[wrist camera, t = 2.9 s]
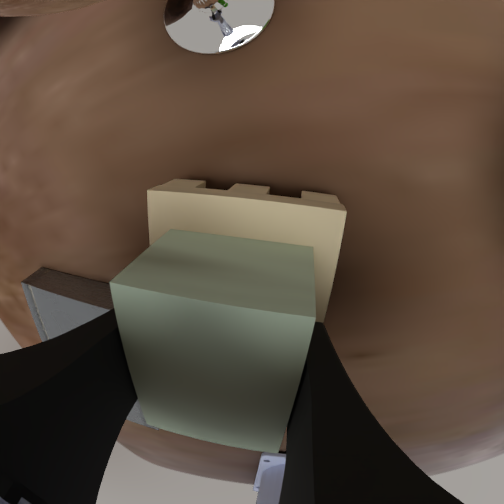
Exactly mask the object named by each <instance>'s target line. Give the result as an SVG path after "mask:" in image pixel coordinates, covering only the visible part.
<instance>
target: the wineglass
mask: <svg viewBox="0 0 504 504" xmlns="http://www.w3.org/2000/svg"><path fill="white" fill-rule="evenodd" d="M102 1H105V0H0V17H17V16H42V15H50V14H58V13H63V12H67V11H72V10H77V9H80V8H84V7H88V6H90V5H93V4H96V3H99V2H102ZM274 7H275V0H167V2H166V4H165V8H164V16H163V18H164V25H165V29H166V31H167V33H168V35H169V36H170V38H171V39H172V40H173V41H174V42H175V43H176V44H177V45H178V46H180V47H182V48H184V49H186V50H188V51H190V52H195V53H199V54H220V53H225V52H230V51H233V50H235V49H238V48H240V47H243V46H244V45H246V44H248V43H249V42H251V41H253V40H254V39H255V38H256V37H257V36H258V35H260V34H261V33H262V32H263V31H264V29H265V28H266V27H267V25H268V24H269V22H270V20H271V18H272V15H273V13H274Z"/></svg>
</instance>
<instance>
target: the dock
mask: <svg viewBox="0 0 504 504" xmlns="http://www.w3.org/2000/svg"><path fill="white" fill-rule="evenodd" d="M21 283H22V287H23V290H24V293H25V296H26V299H27V302H28V305H29V308H30V311H31V314H32V317H33V319H34V322H35V325H36V327H37V330H38V332H39V335H40V337H41V340H42V342H44V341H47V340H49V339H52V338H54V337H57V336H59V335H61V334H64V333H66V332H68V331H70V330H72V329H74V328H76V327H78V326H81V325H83V324H85V323H87V322H89V321H91V320H93V319H95V318H97V317H98V316H100V315H102V314H104V313H106V312H108V311H110V310H112V309H113V308H114V304H113V299H112V294H111V288H110V284H107V283H103V282H99V281H94V280H90V279H86V278H82V277H78V276H74V275H70V274H66V273H62V272H58V271H54V270H50V269H47V268H43V267H41V268H40V269H39V270H37V271H36V272H34V273H33V274H32V275H30V276H29V277H27V278H26V279H25V280H23V281H22V282H21ZM126 419H127V420H130V421H132V422H135V423H138V424H141V425H144V426H147V427H150V428H153V429H156V430H159V428H157V427H154V426H151V425H148V424H147V423H146V421H145V418H144V415H143V412H142V409H141V406H140V403H139V400H138V399H137V401H136V403H135V404H134V406H133V408H132V409H131V411H130V413H129V415H128V416H127V418H126Z"/></svg>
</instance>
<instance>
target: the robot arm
mask: <svg viewBox="0 0 504 504" xmlns="http://www.w3.org/2000/svg"><path fill="white" fill-rule="evenodd" d="M137 399H138V397H137V394H136V391H135V387H134V384H133V381H132V378H131V374H130V371H129V367H128V363H127V360H126V356H125V352H124V348H123V344H122V340H121V336H120V332H119V328H118V323H117V319H116V314H115V309H114V308H113V309H112V310H110V311H108V312H106V313H104V314H102V315H100V316H98V317H97V318H95V319H93V320H91V321H89V322H87V323H85V324H83V325H81V326H78V327H76V328H74V329H72V330H70V331H68V332H66V333H64V334H61V335H59V336H57V337H54V338H52V339H49V340H47V341H44V342H41V343H38V344H36V345H33V346H29V347H26V348H22V349H19V350H15V351H12V352H8V353H4V354H0V504H96V500H97V496H98V492H99V488H100V485H101V482H102V478H103V475H104V471H105V469H106V466H107V463H108V460H109V458H110V455H111V452H112V450H113V447H114V444H115V442H116V440H117V437H118V435H119V433H120V430H121V428H122V426H123V424H124V422H125V420H126V418H127V416H128V415H129V413H130V411H131V409H132V408H133V406H134V404H135V403H136V401H137ZM253 490H254V491H257V492H258V496H257V501H256V504H464V503H462V502H461V501H460V500H458V499H457V498H455V497H454V496H453V495H451V494H450V493H449V492H447V491H446V490H445V489H443V488H442V487H441V486H439V485H438V484H437V483H435V482H434V481H433V480H432V479H431V478H430V477H428V476H427V475H426V474H425V473H424V472H423V471H422V470H421V469H420V468H419V467H417V466H416V465H415V464H414V463H413V462H412V461H411V459H410V458H409V457H408V456H407V455H406V454H405V453H404V452H403V451H402V450H401V449H400V448H399V447H398V446H397V445H396V443H395V442H394V441H393V440H392V439H391V438H390V437H389V435H388V434H387V433H386V432H385V430H384V429H383V428H382V427H381V425H380V424H379V423H378V421H377V420H376V419H375V417H374V416H373V414H372V413H371V412H370V410H369V409H368V407H367V406H366V404H365V403H364V401H363V400H362V398H361V397H360V395H359V393H358V392H357V390H356V388H355V387H354V385H353V383H352V382H351V380H350V378H349V376H348V375H347V373H346V371H345V369H344V367H343V365H342V363H341V361H340V359H339V357H338V355H337V353H336V351H335V349H334V347H333V345H332V343H331V340H330V338H329V336H328V333H327V331H326V328H325V326H324V324H323V323H322V322H315V324H314V328H313V332H312V336H311V341H310V345H309V349H308V353H307V356H306V360H305V364H304V368H303V372H302V375H301V379H300V383H299V386H298V390H297V393H296V397H295V400H294V404H293V407H292V410H291V414H290V417H289V420H288V424H287V446H286V454H281V453H278V454H277V453H269V452H263V453H262V454H261V459H260V463H259V467H258V471H257V475H256V479H255V483H254V487H253Z"/></svg>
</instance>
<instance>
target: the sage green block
mask: <svg viewBox="0 0 504 504" xmlns="http://www.w3.org/2000/svg"><path fill="white" fill-rule="evenodd" d="M269 193H270V187H267V186H258V185H248V184H238V183H236V184H234V185H233V186H232V187H231V188H230V189H229V190H219V189H207V188H206V181H201V180H187V179H174V180H171V181H169V182H167V183H165V184H163V185H157V186H155V187H153V188H151V189H149V190H147V200H148V224H149V241H150V247H149V248H147V249H146V250H145V251H144V252H143V253H142V254H140V255H139V256H138V257H137V258H136V259H135V260H134V261H132V262H131V263H130V264H129V265H128V266H127V267H126V268H124V269H123V270H122V271H121V272H120V273H119V274H118V275H117V276H116V277H114V278H113V279H112V280H111V281H110V282H109V283H110V288H111V294H112V299H113V304H114V309H115V314H116V319H117V323H118V328H119V332H120V336H121V340H122V344H123V348H124V352H125V356H126V360H127V363H128V367H129V371H130V374H131V378H132V381H133V384H134V387H135V391H136V394H137V397H138V400H139V403H140V406H141V409H142V412H143V415H144V418H145V421H146V423H147V424H148V425H151V426H154V427H157V428H161V429H164V430H167V431H171V432H174V433H177V434H181V435H185V436H188V437H192V438H196V439H200V440H205V441H209V442H213V443H218V444H222V445H227V446H232V447H238V448H243V449H249V450H255V451H262V452H269V453H277V454H278V452H279V449H280V446H281V442H282V439H283V436H284V433H285V430H286V427H287V424H288V420H289V417H290V414H291V410H292V407H293V404H294V400H295V397H296V393H297V390H298V386H299V383H300V379H301V375H302V372H303V368H304V364H305V360H306V356H307V353H308V349H309V345H310V341H311V336H312V332H313V328H314V324H315V322H322V323H324V319H325V315H326V310H327V306H328V302H329V298H330V294H331V289H332V285H333V280H334V276H335V271H336V266H337V261H338V256H339V252H340V246H341V241H342V236H343V231H344V225H345V219H346V214H347V211H346V209H345V207H344V205H343V204H340V202H339V200H338V198H337V196H336V195H330V194H323V193H316V192H308V191H302V194H301V198H293V197H285V196H277V195H269Z"/></svg>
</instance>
